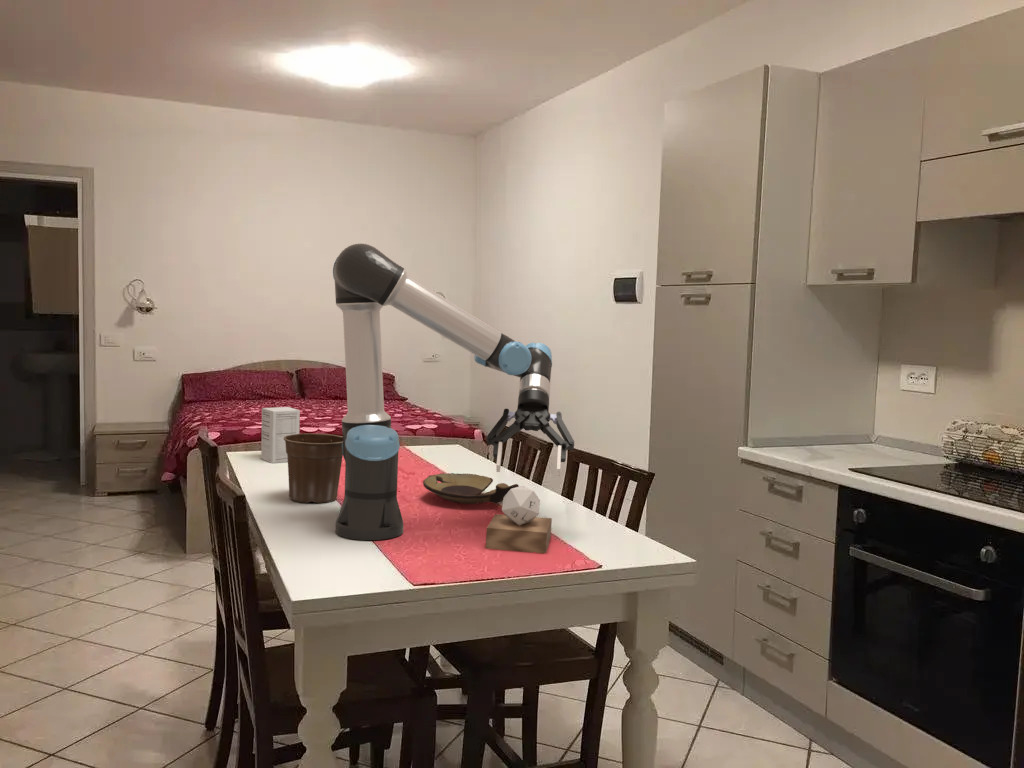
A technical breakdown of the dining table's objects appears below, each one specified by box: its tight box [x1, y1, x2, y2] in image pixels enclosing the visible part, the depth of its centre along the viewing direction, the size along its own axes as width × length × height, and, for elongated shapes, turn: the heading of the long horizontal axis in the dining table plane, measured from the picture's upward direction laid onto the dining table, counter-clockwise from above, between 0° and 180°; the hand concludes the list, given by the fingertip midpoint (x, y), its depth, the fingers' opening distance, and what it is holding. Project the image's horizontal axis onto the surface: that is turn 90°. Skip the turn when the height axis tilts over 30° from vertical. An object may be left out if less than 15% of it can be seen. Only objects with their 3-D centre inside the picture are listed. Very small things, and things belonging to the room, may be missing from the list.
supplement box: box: [260, 406, 301, 464], centre depth 266 cm, size 10×9×17 cm
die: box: [501, 485, 541, 526], centre depth 182 cm, size 8×9×10 cm
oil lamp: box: [422, 472, 520, 505], centre depth 219 cm, size 22×30×8 cm
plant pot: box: [284, 432, 343, 504], centre depth 214 cm, size 16×16×16 cm
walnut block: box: [485, 513, 553, 554], centre depth 182 cm, size 13×13×5 cm
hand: (528, 470), depth 185 cm, fingers open, 13 cm apart
